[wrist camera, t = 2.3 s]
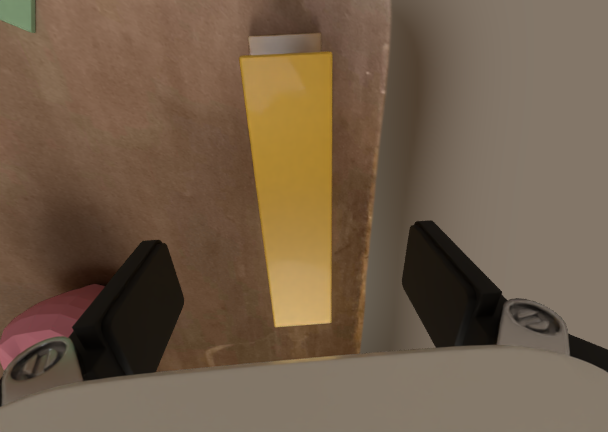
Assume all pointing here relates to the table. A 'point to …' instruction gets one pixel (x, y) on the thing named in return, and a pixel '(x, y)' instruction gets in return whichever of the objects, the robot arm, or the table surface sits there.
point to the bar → (293, 178)
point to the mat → (19, 13)
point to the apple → (45, 321)
